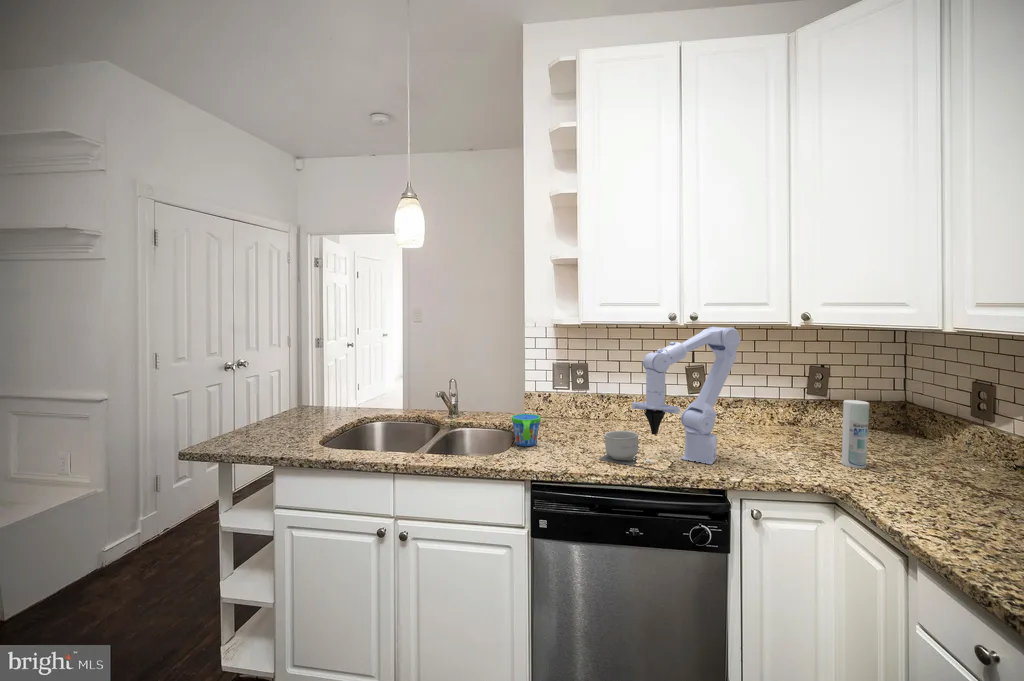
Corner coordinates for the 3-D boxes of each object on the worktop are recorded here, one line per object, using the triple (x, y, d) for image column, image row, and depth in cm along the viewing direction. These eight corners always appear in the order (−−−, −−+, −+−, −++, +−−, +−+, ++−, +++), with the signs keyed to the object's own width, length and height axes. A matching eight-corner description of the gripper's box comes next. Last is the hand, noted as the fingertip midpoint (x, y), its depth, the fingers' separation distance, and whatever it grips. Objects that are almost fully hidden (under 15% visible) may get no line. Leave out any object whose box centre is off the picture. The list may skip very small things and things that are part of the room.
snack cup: (514, 438, 179) (514, 411, 179) (541, 439, 178) (541, 412, 177) (509, 450, 164) (509, 421, 163) (539, 451, 163) (539, 421, 162)
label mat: (676, 460, 152) (676, 459, 152) (663, 471, 141) (663, 470, 141) (614, 449, 164) (614, 449, 164) (598, 459, 153) (598, 458, 153)
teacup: (624, 465, 146) (624, 439, 146) (597, 457, 155) (597, 433, 154) (650, 456, 155) (650, 432, 155) (623, 449, 164) (623, 426, 163)
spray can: (856, 462, 150) (859, 399, 149) (871, 468, 144) (874, 403, 143) (836, 462, 150) (838, 399, 149) (850, 468, 144) (853, 403, 143)
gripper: (628, 390, 149) (627, 433, 150) (675, 395, 141) (674, 440, 141) (636, 387, 155) (635, 428, 155) (681, 391, 146) (680, 435, 147)
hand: (654, 433), depth 149 cm, fingers closed
